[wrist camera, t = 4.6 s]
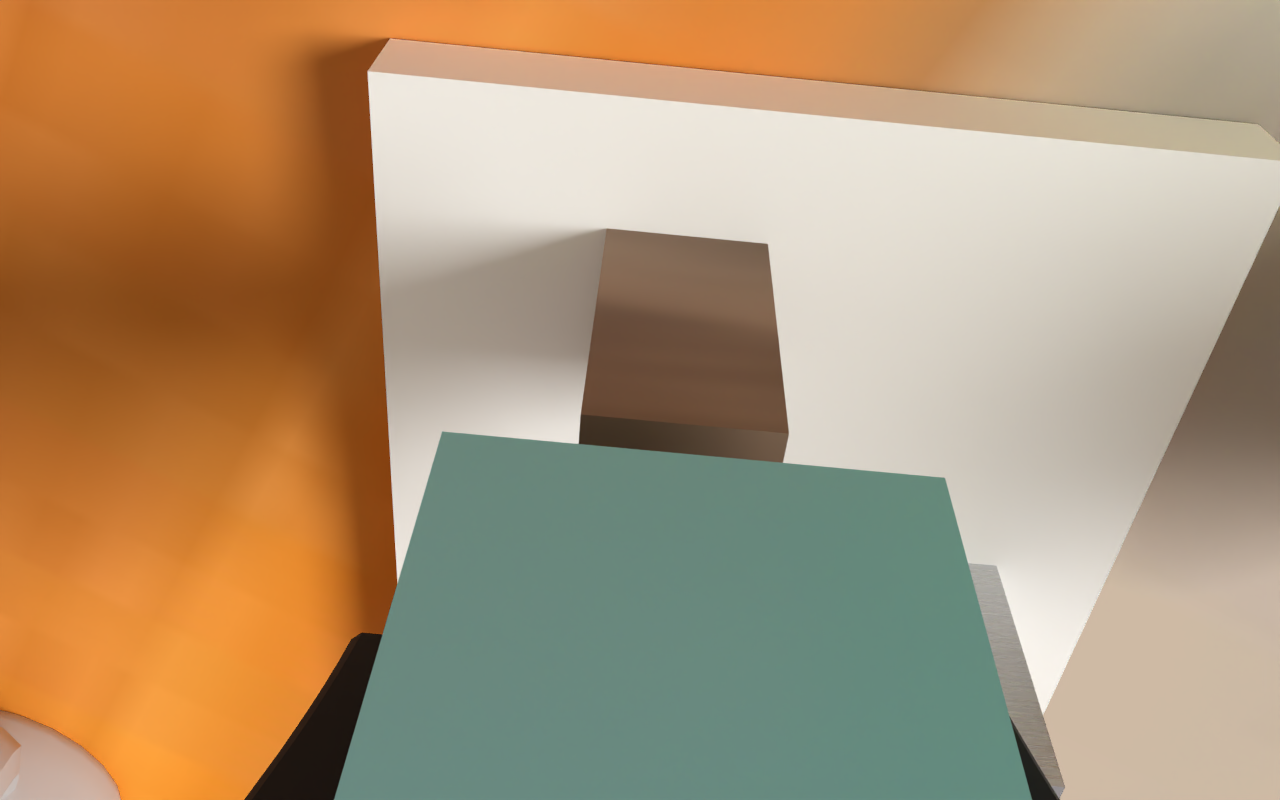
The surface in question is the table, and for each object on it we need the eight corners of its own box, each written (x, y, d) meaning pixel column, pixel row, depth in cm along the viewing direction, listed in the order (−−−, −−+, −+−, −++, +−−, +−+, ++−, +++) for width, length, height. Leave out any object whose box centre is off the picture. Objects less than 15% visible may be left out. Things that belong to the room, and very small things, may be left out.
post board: (950, 838, 30) (960, 891, 29) (424, 793, 29) (412, 844, 28) (1258, 124, 18) (1299, 163, 17) (390, 38, 18) (367, 71, 17)
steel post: (962, 654, 23) (1018, 877, 19) (839, 643, 23) (869, 865, 19) (996, 565, 22) (1065, 787, 18) (864, 553, 22) (903, 772, 18)
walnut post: (745, 376, 19) (758, 581, 15) (596, 362, 19) (570, 565, 15) (767, 244, 18) (788, 433, 14) (606, 228, 18) (581, 414, 14)
